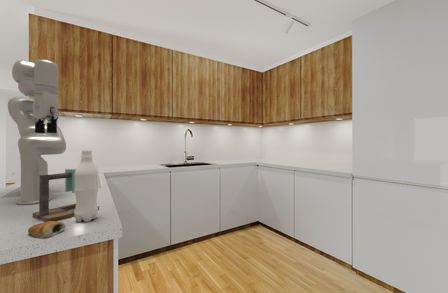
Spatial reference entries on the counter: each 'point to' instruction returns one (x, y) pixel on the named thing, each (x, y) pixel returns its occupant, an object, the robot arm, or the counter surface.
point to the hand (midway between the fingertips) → (45, 133)
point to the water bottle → (86, 188)
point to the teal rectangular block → (70, 181)
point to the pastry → (46, 229)
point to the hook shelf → (57, 213)
